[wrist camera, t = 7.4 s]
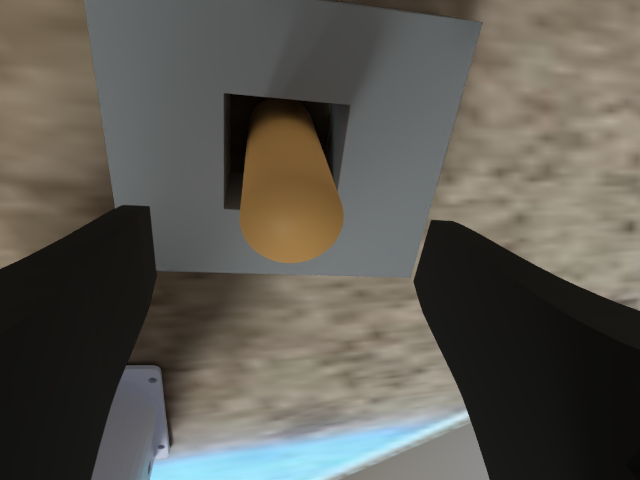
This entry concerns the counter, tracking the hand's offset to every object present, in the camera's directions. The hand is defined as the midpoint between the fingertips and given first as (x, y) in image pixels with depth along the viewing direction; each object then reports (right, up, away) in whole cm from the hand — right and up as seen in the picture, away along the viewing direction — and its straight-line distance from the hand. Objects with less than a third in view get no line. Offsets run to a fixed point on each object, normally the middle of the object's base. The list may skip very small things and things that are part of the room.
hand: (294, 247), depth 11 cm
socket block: (-1, +5, +9) cm, 10 cm away
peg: (-1, +5, +9) cm, 10 cm away
